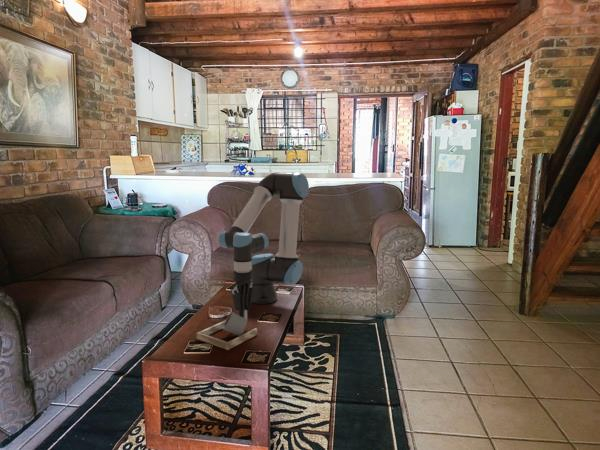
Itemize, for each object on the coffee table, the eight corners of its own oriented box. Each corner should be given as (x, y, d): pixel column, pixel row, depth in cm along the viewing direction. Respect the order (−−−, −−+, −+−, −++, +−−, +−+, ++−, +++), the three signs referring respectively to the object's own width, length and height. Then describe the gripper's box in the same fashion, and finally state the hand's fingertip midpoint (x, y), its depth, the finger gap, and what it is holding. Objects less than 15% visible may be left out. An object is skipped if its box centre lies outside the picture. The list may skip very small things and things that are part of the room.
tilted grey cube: (239, 340, 166) (248, 328, 163) (221, 332, 165) (229, 319, 161) (243, 323, 176) (251, 310, 173) (225, 315, 174) (233, 302, 171)
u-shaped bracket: (226, 325, 179) (226, 319, 178) (257, 334, 169) (257, 328, 169) (196, 339, 165) (196, 333, 164) (227, 350, 155) (227, 343, 155)
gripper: (246, 265, 179) (247, 318, 182) (225, 272, 168) (226, 327, 172) (259, 268, 174) (260, 321, 178) (239, 275, 164) (239, 331, 167)
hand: (243, 324), depth 175 cm, fingers closed
